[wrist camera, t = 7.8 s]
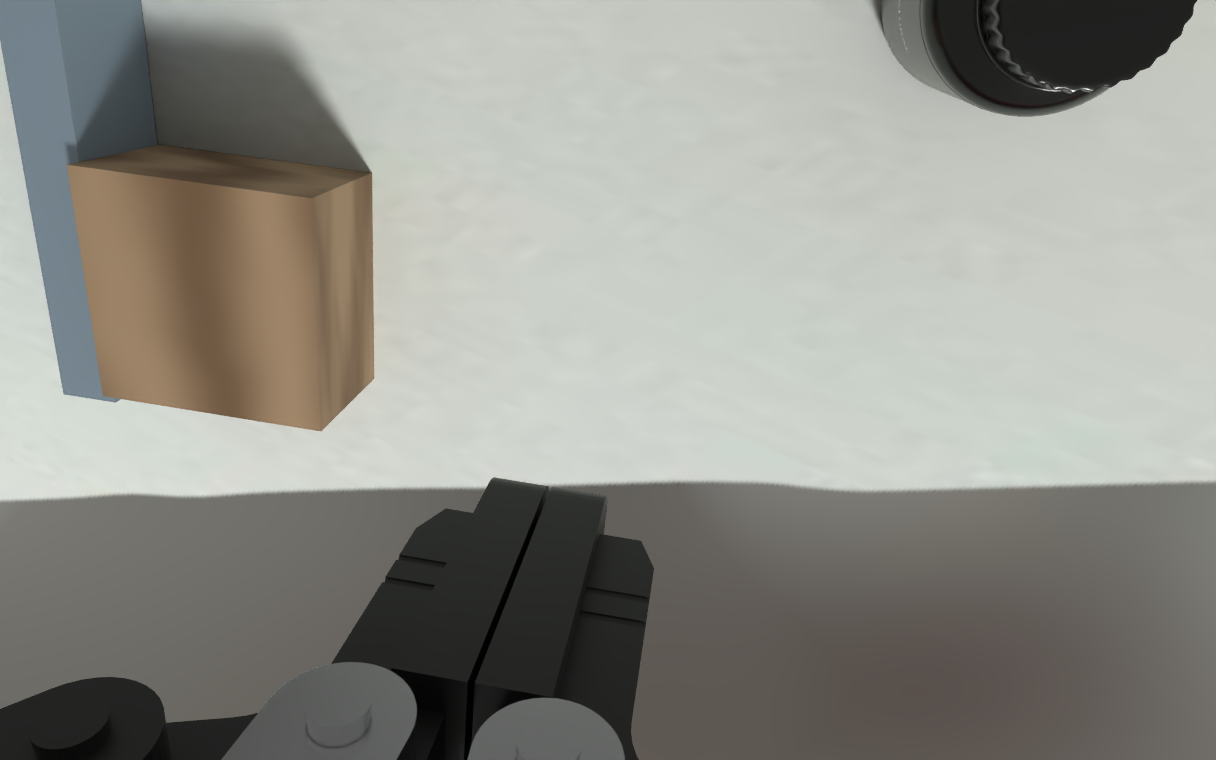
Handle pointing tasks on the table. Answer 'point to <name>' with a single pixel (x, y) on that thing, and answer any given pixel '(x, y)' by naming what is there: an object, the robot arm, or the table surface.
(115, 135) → the slate board
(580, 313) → the table surface
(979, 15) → the supplement bottle
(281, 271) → the walnut block
